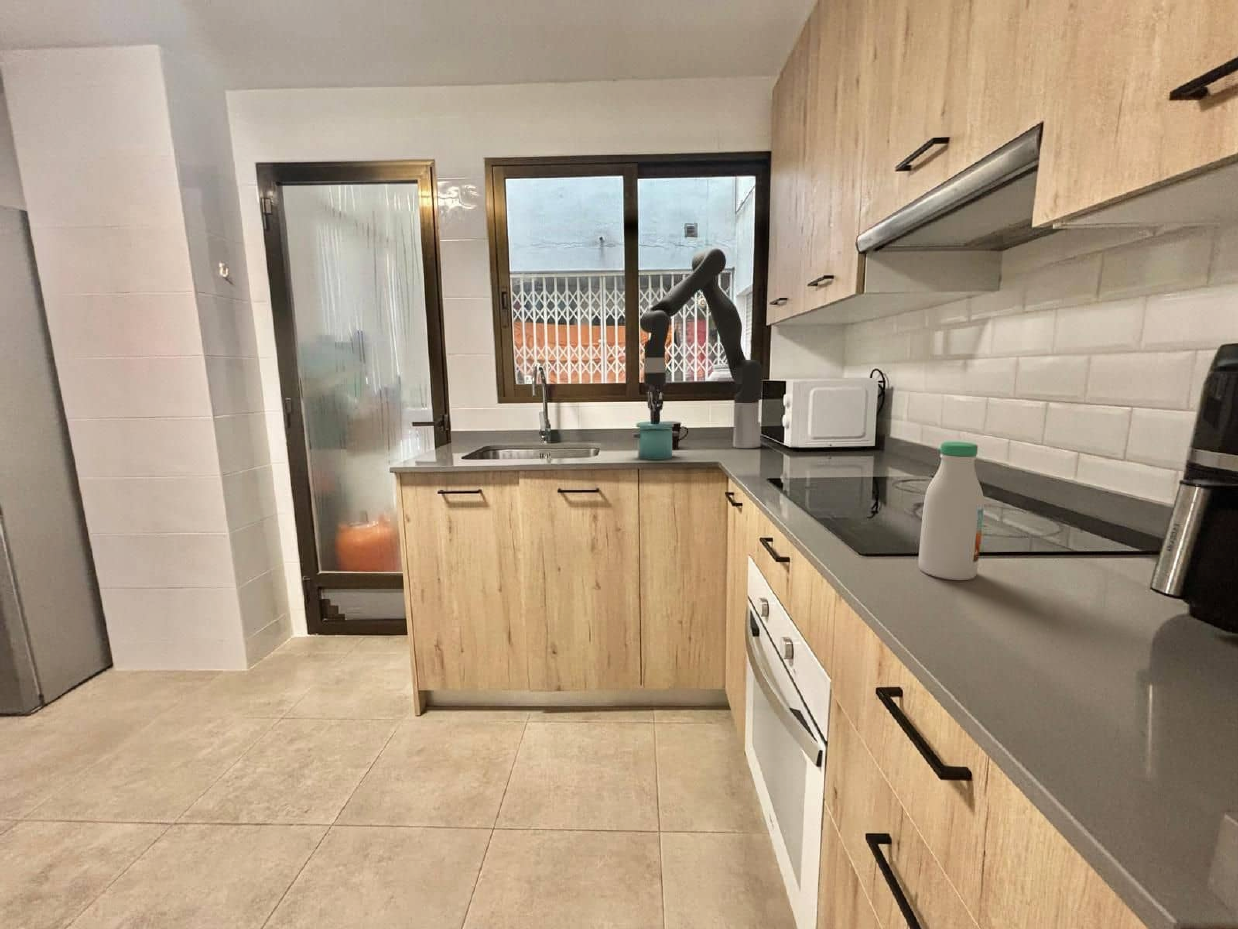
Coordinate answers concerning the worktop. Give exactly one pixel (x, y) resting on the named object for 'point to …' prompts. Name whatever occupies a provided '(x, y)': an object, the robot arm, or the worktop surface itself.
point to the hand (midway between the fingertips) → (655, 421)
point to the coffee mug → (676, 428)
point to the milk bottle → (952, 516)
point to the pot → (654, 443)
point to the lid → (654, 424)
